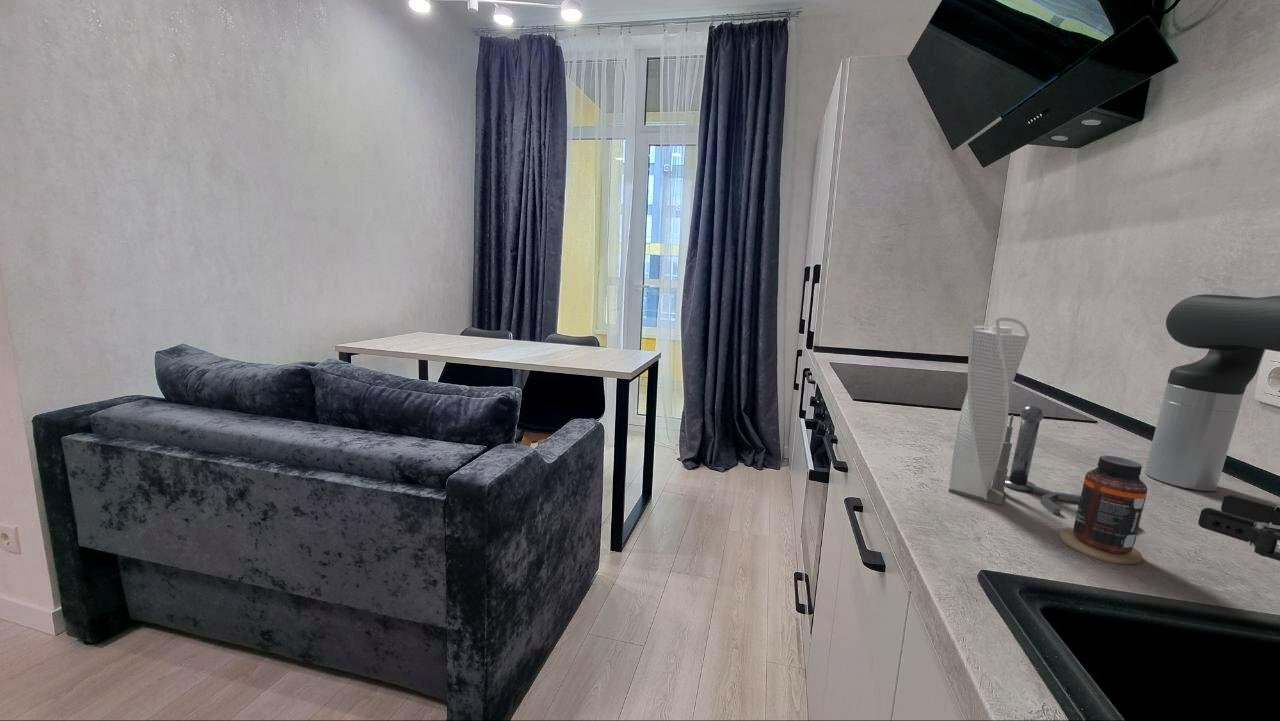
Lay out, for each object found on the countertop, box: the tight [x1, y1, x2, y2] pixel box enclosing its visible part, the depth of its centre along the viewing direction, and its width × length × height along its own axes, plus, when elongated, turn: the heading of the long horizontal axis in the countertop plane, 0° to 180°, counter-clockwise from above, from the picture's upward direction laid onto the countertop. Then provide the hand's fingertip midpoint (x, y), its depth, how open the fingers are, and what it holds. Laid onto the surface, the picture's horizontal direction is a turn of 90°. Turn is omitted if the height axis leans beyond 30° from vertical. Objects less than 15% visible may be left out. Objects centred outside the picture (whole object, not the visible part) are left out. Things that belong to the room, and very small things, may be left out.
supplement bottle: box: [1073, 455, 1148, 554], centre depth 67 cm, size 6×6×11 cm
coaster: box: [1059, 527, 1143, 566], centre depth 68 cm, size 8×8×1 cm
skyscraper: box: [948, 317, 1030, 506], centre depth 81 cm, size 8×8×28 cm
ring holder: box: [1004, 404, 1081, 516], centre depth 80 cm, size 10×18×14 cm, turn 31°
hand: (1212, 509), depth 59 cm, fingers open, 8 cm apart
